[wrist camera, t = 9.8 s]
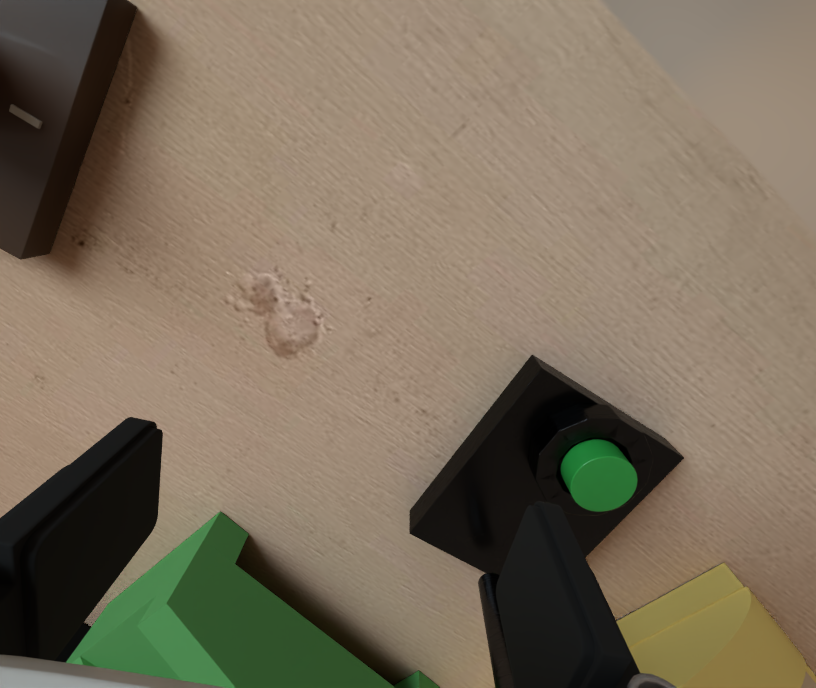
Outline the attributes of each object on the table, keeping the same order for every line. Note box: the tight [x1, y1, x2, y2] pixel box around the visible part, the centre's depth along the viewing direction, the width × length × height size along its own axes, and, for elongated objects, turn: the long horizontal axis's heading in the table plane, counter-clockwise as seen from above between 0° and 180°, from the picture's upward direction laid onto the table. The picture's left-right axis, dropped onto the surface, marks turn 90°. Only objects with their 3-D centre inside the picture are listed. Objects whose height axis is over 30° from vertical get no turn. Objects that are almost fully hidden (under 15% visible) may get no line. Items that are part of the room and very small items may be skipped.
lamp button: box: [561, 439, 637, 512], centre depth 25 cm, size 4×4×2 cm
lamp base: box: [410, 355, 684, 575], centre depth 28 cm, size 14×11×4 cm
